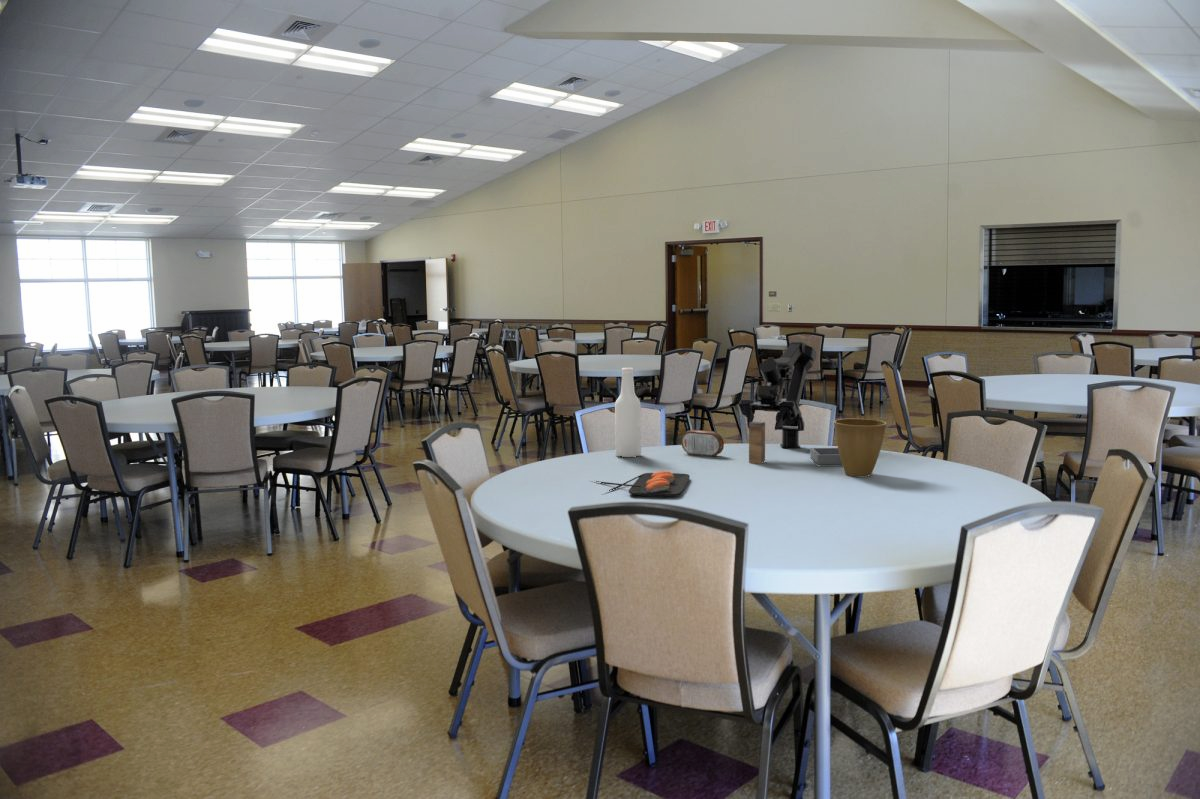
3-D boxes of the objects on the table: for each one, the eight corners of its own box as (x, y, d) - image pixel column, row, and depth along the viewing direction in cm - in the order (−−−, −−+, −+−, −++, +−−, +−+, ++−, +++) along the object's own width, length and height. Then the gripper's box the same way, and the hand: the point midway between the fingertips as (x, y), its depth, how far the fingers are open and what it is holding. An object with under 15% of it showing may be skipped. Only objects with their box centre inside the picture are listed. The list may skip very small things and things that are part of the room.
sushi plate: (680, 501, 244) (680, 487, 243) (570, 497, 250) (570, 484, 249) (691, 479, 272) (691, 467, 271) (592, 477, 278) (592, 464, 277)
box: (810, 458, 302) (810, 447, 301) (852, 458, 301) (852, 447, 300) (817, 465, 288) (817, 455, 288) (861, 465, 287) (861, 454, 287)
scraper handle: (753, 460, 299) (753, 421, 297) (764, 461, 297) (765, 422, 295) (748, 462, 295) (749, 422, 294) (760, 463, 293) (760, 423, 292)
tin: (724, 456, 308) (724, 431, 307) (720, 457, 306) (720, 432, 305) (684, 452, 316) (684, 428, 315) (680, 454, 314) (680, 429, 313)
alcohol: (629, 452, 318) (628, 366, 314) (646, 455, 311) (645, 367, 308) (610, 455, 312) (609, 368, 309) (627, 458, 305) (626, 369, 302)
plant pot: (833, 478, 268) (834, 424, 266) (833, 469, 282) (833, 417, 281) (886, 480, 264) (887, 425, 263) (883, 470, 279) (884, 418, 277)
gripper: (740, 375, 306) (728, 411, 298) (795, 377, 297) (784, 414, 288) (749, 396, 314) (737, 432, 305) (802, 398, 304) (791, 436, 296)
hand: (761, 428), depth 299 cm, fingers open, 9 cm apart
